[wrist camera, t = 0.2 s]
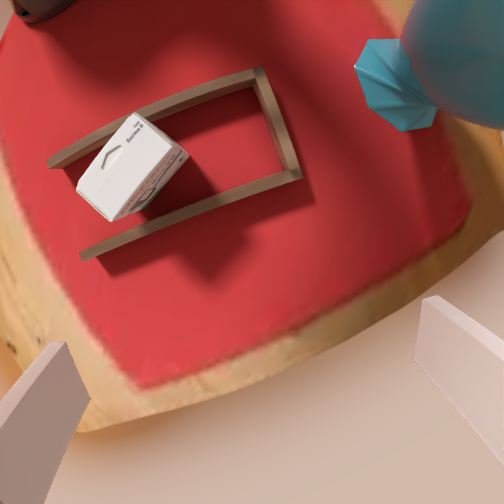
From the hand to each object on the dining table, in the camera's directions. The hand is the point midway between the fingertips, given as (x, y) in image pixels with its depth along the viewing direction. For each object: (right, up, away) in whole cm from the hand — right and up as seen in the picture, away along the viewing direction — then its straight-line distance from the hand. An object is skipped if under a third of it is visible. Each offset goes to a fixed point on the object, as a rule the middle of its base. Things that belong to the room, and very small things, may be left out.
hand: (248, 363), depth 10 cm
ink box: (-12, +13, +24) cm, 30 cm away
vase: (+21, +27, +23) cm, 41 cm away
